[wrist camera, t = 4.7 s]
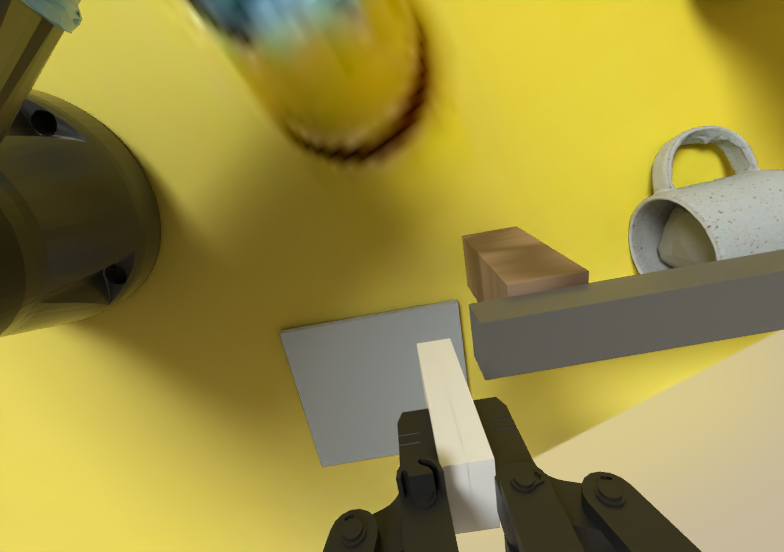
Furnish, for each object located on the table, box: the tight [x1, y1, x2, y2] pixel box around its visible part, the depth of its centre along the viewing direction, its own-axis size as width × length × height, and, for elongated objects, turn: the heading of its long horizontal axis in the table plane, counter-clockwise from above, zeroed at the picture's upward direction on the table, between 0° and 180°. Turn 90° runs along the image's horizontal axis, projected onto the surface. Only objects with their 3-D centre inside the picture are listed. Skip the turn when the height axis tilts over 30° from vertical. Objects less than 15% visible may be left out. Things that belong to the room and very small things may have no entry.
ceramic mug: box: [629, 126, 784, 274], centre depth 23 cm, size 11×8×8 cm
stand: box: [462, 227, 589, 302], centre depth 23 cm, size 32×4×10 cm, turn 100°
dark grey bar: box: [469, 249, 784, 380], centre depth 17 cm, size 22×3×2 cm, turn 100°
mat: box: [280, 300, 468, 467], centre depth 31 cm, size 14×14×1 cm
